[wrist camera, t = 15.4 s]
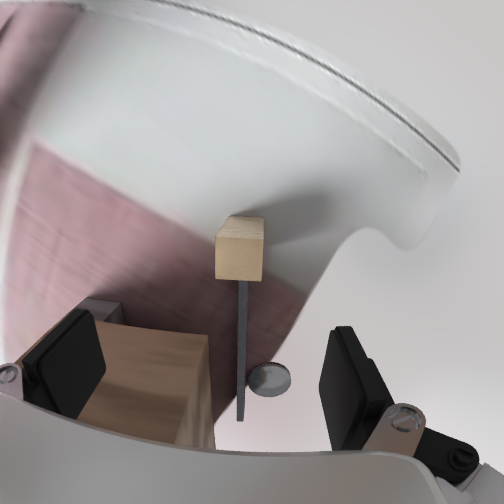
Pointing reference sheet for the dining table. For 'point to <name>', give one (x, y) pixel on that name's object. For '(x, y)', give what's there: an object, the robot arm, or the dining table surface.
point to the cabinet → (149, 381)
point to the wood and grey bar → (240, 278)
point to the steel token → (269, 379)
